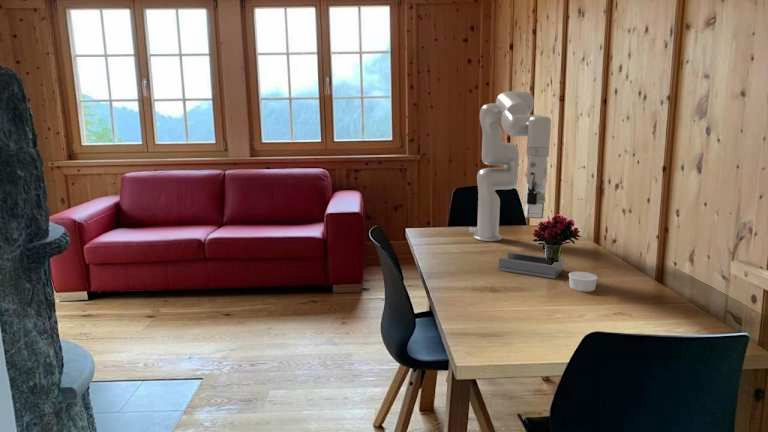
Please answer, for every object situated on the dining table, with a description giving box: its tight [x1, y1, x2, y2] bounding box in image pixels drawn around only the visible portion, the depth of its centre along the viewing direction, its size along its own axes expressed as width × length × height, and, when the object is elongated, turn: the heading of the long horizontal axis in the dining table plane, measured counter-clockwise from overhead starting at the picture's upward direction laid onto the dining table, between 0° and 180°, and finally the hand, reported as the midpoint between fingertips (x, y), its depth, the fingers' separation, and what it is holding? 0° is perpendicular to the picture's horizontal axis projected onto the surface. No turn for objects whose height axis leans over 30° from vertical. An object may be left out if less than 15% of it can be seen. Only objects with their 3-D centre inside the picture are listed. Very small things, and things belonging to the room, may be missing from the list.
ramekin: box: [568, 271, 598, 293], centre depth 177 cm, size 9×9×4 cm
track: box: [497, 251, 564, 279], centre depth 197 cm, size 20×13×4 cm, turn 60°
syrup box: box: [524, 177, 547, 219], centre depth 192 cm, size 6×6×14 cm
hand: (534, 202), depth 192 cm, fingers closed on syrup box, 7 cm apart
